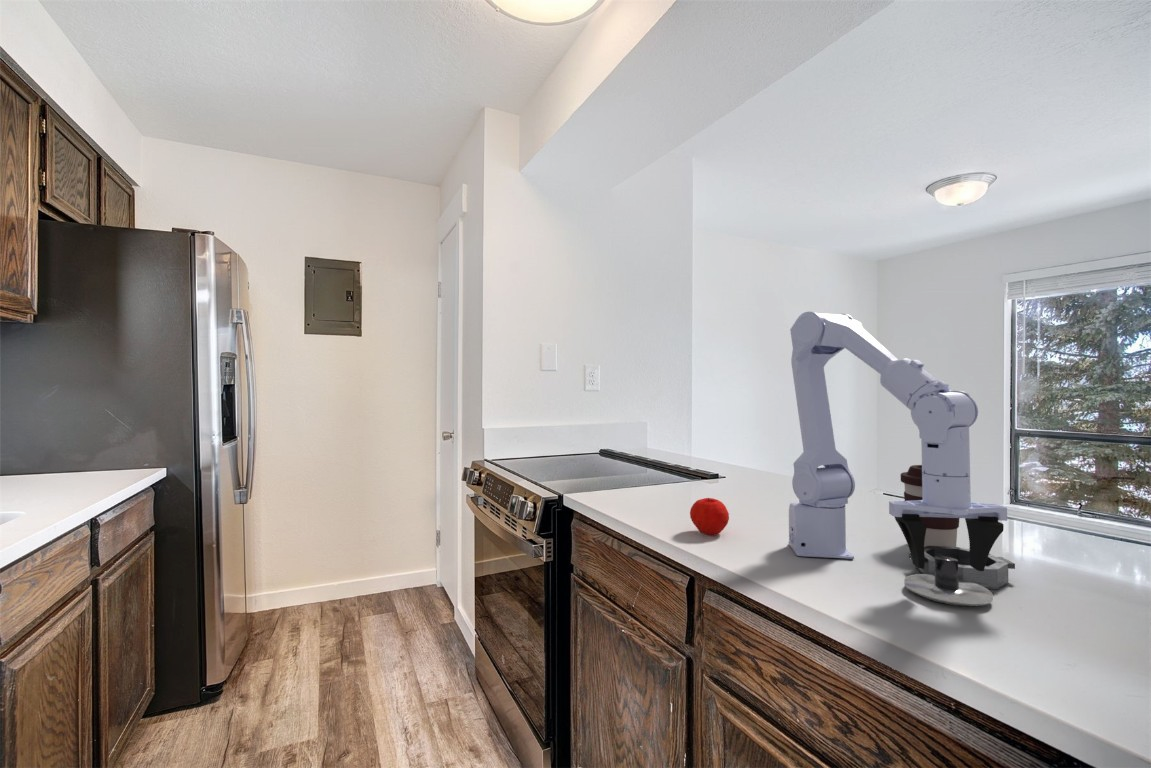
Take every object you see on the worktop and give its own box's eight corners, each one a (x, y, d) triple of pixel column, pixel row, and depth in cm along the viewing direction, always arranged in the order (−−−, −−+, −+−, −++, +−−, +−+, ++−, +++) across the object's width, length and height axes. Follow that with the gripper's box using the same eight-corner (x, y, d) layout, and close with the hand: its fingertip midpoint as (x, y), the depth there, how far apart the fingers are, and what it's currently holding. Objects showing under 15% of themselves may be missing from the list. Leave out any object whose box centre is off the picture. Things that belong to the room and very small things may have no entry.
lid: (924, 608, 70) (923, 569, 70) (892, 581, 81) (892, 546, 81) (1010, 614, 68) (1009, 573, 69) (967, 585, 79) (966, 549, 79)
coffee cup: (976, 556, 92) (975, 472, 92) (915, 553, 94) (913, 470, 94) (948, 539, 101) (947, 463, 101) (893, 537, 103) (891, 463, 103)
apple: (691, 527, 112) (690, 493, 112) (728, 529, 110) (728, 495, 110) (689, 537, 105) (688, 501, 105) (729, 540, 102) (729, 503, 102)
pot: (929, 585, 78) (929, 566, 78) (898, 561, 89) (898, 544, 89) (1032, 591, 75) (1032, 571, 75) (987, 565, 86) (987, 548, 86)
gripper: (902, 477, 72) (904, 574, 72) (1020, 479, 69) (1023, 580, 69) (882, 469, 79) (884, 557, 79) (989, 471, 76) (991, 563, 76)
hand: (947, 567), depth 75 cm, fingers open, 7 cm apart
